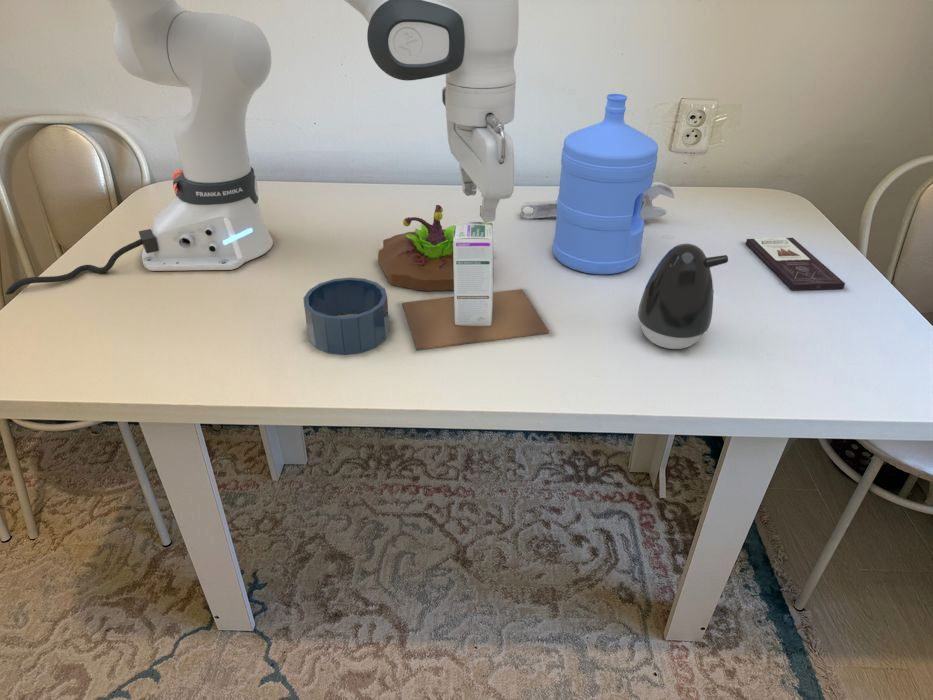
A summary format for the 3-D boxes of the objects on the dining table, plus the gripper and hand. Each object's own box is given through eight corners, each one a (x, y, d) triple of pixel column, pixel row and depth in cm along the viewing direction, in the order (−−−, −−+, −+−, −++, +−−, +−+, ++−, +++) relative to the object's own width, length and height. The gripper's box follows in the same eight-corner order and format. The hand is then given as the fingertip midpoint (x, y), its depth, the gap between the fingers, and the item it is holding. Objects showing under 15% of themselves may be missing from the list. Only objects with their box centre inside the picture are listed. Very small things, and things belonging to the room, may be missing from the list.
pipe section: (310, 359, 93) (305, 323, 90) (307, 316, 102) (302, 282, 99) (394, 348, 95) (392, 313, 92) (383, 307, 105) (380, 274, 101)
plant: (381, 295, 108) (377, 232, 102) (376, 244, 124) (372, 186, 117) (502, 288, 110) (505, 225, 104) (482, 238, 126) (483, 181, 120)
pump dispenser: (706, 364, 93) (732, 267, 84) (631, 352, 95) (649, 256, 87) (705, 326, 101) (729, 235, 93) (636, 316, 103) (652, 226, 95)
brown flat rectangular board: (416, 350, 95) (416, 347, 95) (402, 305, 106) (402, 302, 105) (548, 333, 99) (548, 330, 99) (522, 291, 110) (522, 289, 109)
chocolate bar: (793, 285, 110) (746, 238, 125) (792, 290, 111) (745, 243, 125) (845, 283, 111) (792, 237, 126) (843, 288, 111) (791, 242, 126)
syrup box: (492, 327, 100) (495, 238, 91) (452, 326, 100) (452, 237, 91) (491, 307, 104) (494, 221, 96) (454, 306, 104) (454, 220, 96)
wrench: (521, 228, 137) (671, 219, 133) (521, 231, 136) (672, 222, 132) (519, 190, 133) (673, 180, 129) (519, 194, 131) (675, 183, 127)
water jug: (568, 280, 113) (587, 111, 97) (541, 241, 126) (554, 86, 110) (653, 272, 116) (685, 107, 100) (618, 235, 128) (642, 82, 112)
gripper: (530, 125, 77) (523, 234, 85) (482, 84, 93) (480, 179, 101) (478, 129, 76) (476, 239, 84) (438, 86, 92) (440, 182, 100)
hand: (478, 206), depth 93 cm, fingers open, 8 cm apart
